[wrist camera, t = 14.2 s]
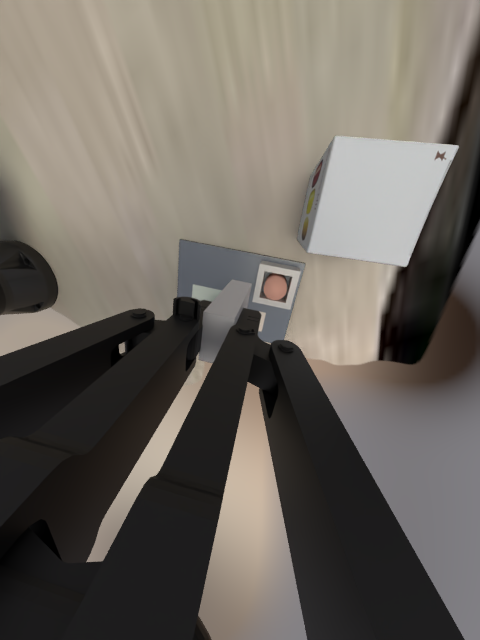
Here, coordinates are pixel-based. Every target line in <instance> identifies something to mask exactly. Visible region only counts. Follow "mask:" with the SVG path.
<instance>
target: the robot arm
mask: <svg viewBox="0 0 480 640" xmlns="http://www.w3.org/2000/svg"><path fill="white" fill-rule="evenodd" d="M251 285H252V284H251V283H247V282H242V281H237V280H231V281H230V282H229V283H228V284H227V286H226V287H225V288H224V289H223V290H222V291H221V292H220V294H219V295H218V296H217V297H216V298H215V299H214V300H213V301H207V300H201V301H200V300H198V299H195V298H192V297H177V298H175V299H174V303H173V315H172V316H171V317H170V318H169V319H168V320H166V321H162V320H155V315H154V313H153V312H151V311H149V310H146V309H133V310H129V311H126V312H123V313H120V314H117V315H115V316H112V317H109V318H106V319H103V320H101V321H98V322H95V323H92V324H90V325H87V326H84V327H81V328H78V329H76V330H73V331H70V332H67V333H64V334H62V335H59V336H56V337H54V338H51V339H48V340H45V341H42V342H39V343H37V344H34V345H31V346H28V347H25V348H23V349H20V350H17V351H14V352H11V353H9V354H6V355H3V356H0V640H211V637H210V635H209V633H208V631H207V630H206V628H205V626H204V624H203V623H202V621H201V619H200V618H199V616H198V612H199V608H200V603H201V598H202V594H203V589H204V584H205V579H206V574H207V570H208V565H209V560H210V556H211V552H212V546H213V542H214V538H215V533H216V527H217V523H218V519H219V514H220V509H221V504H222V500H223V494H224V489H225V484H226V480H227V475H228V470H229V465H230V461H231V456H232V452H233V447H234V442H235V438H236V433H237V428H238V424H239V419H240V414H241V410H242V405H243V401H244V396H245V391H246V387H247V382H249V383H251V384H253V385H255V386H257V387H259V388H260V389H259V395H260V400H261V406H262V411H263V416H264V421H265V426H266V431H267V436H268V441H269V446H270V451H271V456H272V461H273V466H274V472H275V477H276V482H277V487H278V492H279V497H280V502H281V507H282V512H283V517H284V523H285V528H286V533H287V538H288V543H289V548H290V553H291V558H292V563H293V568H294V573H295V579H296V584H297V589H298V594H299V599H300V603H301V609H302V614H303V619H304V624H305V630H306V635H307V640H464V638H463V636H462V634H461V632H460V631H459V629H458V627H457V626H456V624H455V622H454V620H453V618H452V617H451V615H450V613H449V611H448V609H447V608H446V606H445V604H444V602H443V601H442V599H441V597H440V595H439V594H438V592H437V590H436V588H435V586H434V585H433V583H432V581H431V579H430V578H429V576H428V574H427V572H426V571H425V569H424V567H423V565H422V563H421V562H420V560H419V558H418V556H417V555H416V553H415V551H414V549H413V548H412V546H411V544H410V543H409V540H408V539H407V537H406V535H405V533H404V532H403V530H402V528H401V526H400V525H399V523H398V521H397V519H396V517H395V516H394V514H393V512H392V511H391V509H390V507H389V505H388V503H387V501H386V500H385V498H384V496H383V494H382V493H381V491H380V489H379V487H378V486H377V484H376V482H375V480H374V479H373V477H372V475H371V473H370V471H369V470H368V468H367V466H366V464H365V463H364V461H363V459H362V457H361V456H360V454H359V452H358V450H357V448H356V447H355V445H354V443H353V441H352V440H351V438H350V436H349V434H348V432H347V431H346V429H345V427H344V425H343V424H342V422H341V421H340V418H339V417H338V415H337V413H336V411H335V409H334V408H333V406H332V404H331V402H330V401H329V399H328V397H327V395H326V394H325V392H324V390H323V388H322V386H321V385H320V383H319V381H318V379H317V378H316V376H315V374H314V372H313V371H312V369H311V367H310V365H309V364H308V362H307V360H306V358H305V356H304V355H303V353H302V351H301V349H300V348H299V347H298V346H297V345H295V344H294V343H292V342H290V341H287V340H286V341H285V340H275V341H273V342H272V343H271V345H270V344H267V343H265V342H264V341H262V340H261V339H260V338H259V337H258V330H259V325H260V320H261V316H262V315H261V313H260V312H259V311H256V310H251V309H247V306H248V301H249V296H250V291H251ZM56 298H57V283H56V280H55V277H54V274H53V272H52V270H51V268H50V267H49V265H48V264H47V262H46V261H45V260H44V259H43V258H42V256H41V255H40V254H39V253H37V252H36V251H35V250H34V249H32V248H31V247H29V246H28V245H26V244H24V243H21V242H18V241H0V315H4V314H19V313H20V314H21V313H34V312H38V311H41V310H44V309H47V308H49V307H51V306H52V305H53V304H54V302H55V300H56ZM123 342H125V352H124V353H122V354H120V353H119V344H121V343H123ZM198 353H199V360H201V361H206V362H210V363H213V364H212V366H211V368H210V370H209V372H208V374H207V376H206V378H205V380H204V383H203V384H202V387H201V389H200V391H199V392H198V395H197V397H196V399H195V401H194V403H193V405H192V407H191V409H190V411H189V413H188V415H187V417H186V419H185V421H184V423H183V425H182V427H181V429H180V431H179V433H178V435H177V437H176V439H175V441H174V443H173V446H172V448H171V450H170V451H169V454H168V455H167V458H166V460H165V462H164V464H163V466H162V467H161V469H160V471H159V473H158V474H157V475H156V476H153V477H150V479H149V480H148V481H147V482H146V483H145V484H144V486H143V488H142V489H141V491H140V493H139V495H138V496H137V498H136V500H135V502H134V504H133V506H132V507H131V509H130V511H129V513H128V515H127V517H126V519H125V521H124V523H123V524H122V527H121V528H120V530H119V532H118V534H117V536H116V538H115V540H114V542H113V543H112V545H111V547H110V549H109V551H108V553H107V555H106V557H105V559H104V560H103V561H102V562H86V561H87V559H88V557H89V555H90V553H91V550H92V548H93V546H94V543H95V540H96V537H97V534H98V530H99V527H100V525H101V522H102V520H103V518H104V516H105V514H106V513H107V511H108V509H109V507H110V506H111V504H112V503H113V501H114V499H115V498H116V496H117V494H118V492H119V491H120V489H121V487H122V486H123V484H124V482H125V481H126V479H127V478H128V476H129V474H130V473H131V471H132V469H133V468H134V466H135V464H136V463H137V461H138V459H139V458H140V456H141V454H142V452H143V451H144V449H145V447H146V446H147V444H148V443H149V441H150V439H151V437H152V436H153V434H154V432H155V431H156V429H157V428H158V426H159V424H160V423H161V421H162V419H163V418H164V416H165V414H166V413H167V411H168V409H169V408H170V406H171V404H172V403H173V401H174V399H175V398H176V396H177V394H178V393H179V391H180V389H181V388H182V386H183V384H184V383H185V381H186V379H187V378H188V376H189V374H190V373H191V371H192V369H193V368H194V366H195V363H196V356H197V354H198Z"/></svg>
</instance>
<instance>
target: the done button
mask: <svg viewBox="0 0 480 640" xmlns="http://www.w3.org/2000/svg"><path fill="white" fill-rule="evenodd" d="M286 292H287V282H286V278H285V277H284V275H281V274H276V273H272V274H270V275H269V276H268V277H267V279H266V281H265V285H264V293H265V295H266V296H267V297H268V298H269V299H271V300H279V299H281V298H283V297H284V296H285V294H286Z"/></svg>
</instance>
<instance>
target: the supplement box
mask: <svg viewBox="0 0 480 640" xmlns="http://www.w3.org/2000/svg"><path fill="white" fill-rule="evenodd" d="M458 148H459V146H458V145H447V144H435V143H422V142H410V141H397V140H385V139H372V138H360V137H347V136H335V137H334V138H333V140H332V141H331V143H330V145H329V146H328V148H327V150H326V151H325V153H324V154H323V156H322V158H321V159H320V161H319V163H318V164H317V166H316V167H315V169H314V171H313V172H312V174H311V176H310V180H309V185H308V189H307V194H306V198H305V203H304V207H303V212H302V216H301V221H300V226H299V231H298V236H297V240H298V241H299V243H300V244H301V245H302V247H303V248H304V249H305V251H306V252H307V253H313V254H320V255H326V256H333V257H340V258H347V259H355V260H361V261H368V262H375V263H382V264H388V265H395V266H401V267H406V266H407V265H408V262H409V260H410V257H411V254H412V252H413V250H414V247H415V245H416V242H417V240H418V237H419V235H420V232H421V230H422V227H423V225H424V223H425V220H426V218H427V216H428V213H429V211H430V208H431V206H432V204H433V201H434V199H435V197H436V195H437V193H438V190H439V188H440V186H441V184H442V182H443V179H444V177H445V175H446V173H447V171H448V169H449V166H450V164H451V162H452V160H453V158H454V156H455V154H456V152H457V150H458Z"/></svg>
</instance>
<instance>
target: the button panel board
mask: <svg viewBox="0 0 480 640" xmlns="http://www.w3.org/2000/svg"><path fill="white" fill-rule="evenodd" d="M304 267H305V263H301V262H296V261H291V260H286V259H281V258H275V257H270V256H265V255H260V254H255V253H249V252H244V251H239V250H234V249H229V248H224V247H218V246H213V245H208V244H203V243H198V242H192V241H187V240H182V239H180V243H179V266H178V290H177V297H192V298H195V299H198V300H200V301H201V300H207V301H213V300H214V299H215V298H216V297H217V296H218V295H219V294H220V292H221V291H222V290H223V289H224V288H225V287H226V286H227V284H228V283H229V282H230V281H231V280H237V281H242V282H247V283H251V284H252V285H251V291H250V296H249V301H248V306H247V309H251V310H256V311H259V312H260V313H261V315H262V316H261V320H260V325H259V330H258V337H259V338H260V339H261V340H262V341H265V342H269V343H272V342H273V341H275V340H284V337H285V334H286V330H287V327H288V323H289V320H290V316H291V313H292V309H293V306H294V302H295V299H296V295H297V292H298V288H299V284H300V281H301V277H302V274H303V270H304ZM272 273H276V274H281V275H284V277H285V278H286V282H287V292H286V294H285V296H284V297H283V298H281V299H279V300H271V299H269V298H268V297H267V296H266V295H265V293H264V285H265V281H266V279H267V277H268V276H269V275H270V274H272Z"/></svg>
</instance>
